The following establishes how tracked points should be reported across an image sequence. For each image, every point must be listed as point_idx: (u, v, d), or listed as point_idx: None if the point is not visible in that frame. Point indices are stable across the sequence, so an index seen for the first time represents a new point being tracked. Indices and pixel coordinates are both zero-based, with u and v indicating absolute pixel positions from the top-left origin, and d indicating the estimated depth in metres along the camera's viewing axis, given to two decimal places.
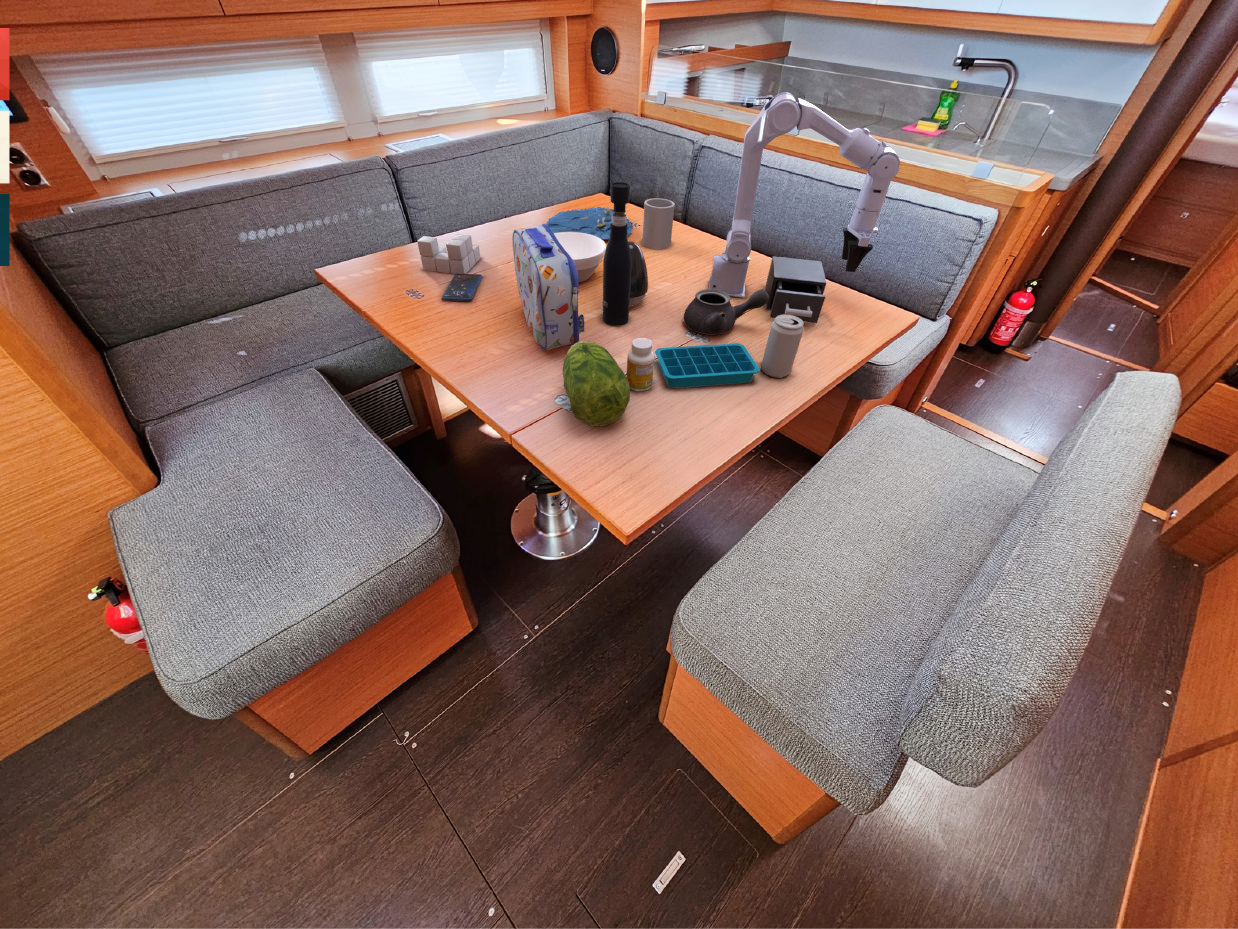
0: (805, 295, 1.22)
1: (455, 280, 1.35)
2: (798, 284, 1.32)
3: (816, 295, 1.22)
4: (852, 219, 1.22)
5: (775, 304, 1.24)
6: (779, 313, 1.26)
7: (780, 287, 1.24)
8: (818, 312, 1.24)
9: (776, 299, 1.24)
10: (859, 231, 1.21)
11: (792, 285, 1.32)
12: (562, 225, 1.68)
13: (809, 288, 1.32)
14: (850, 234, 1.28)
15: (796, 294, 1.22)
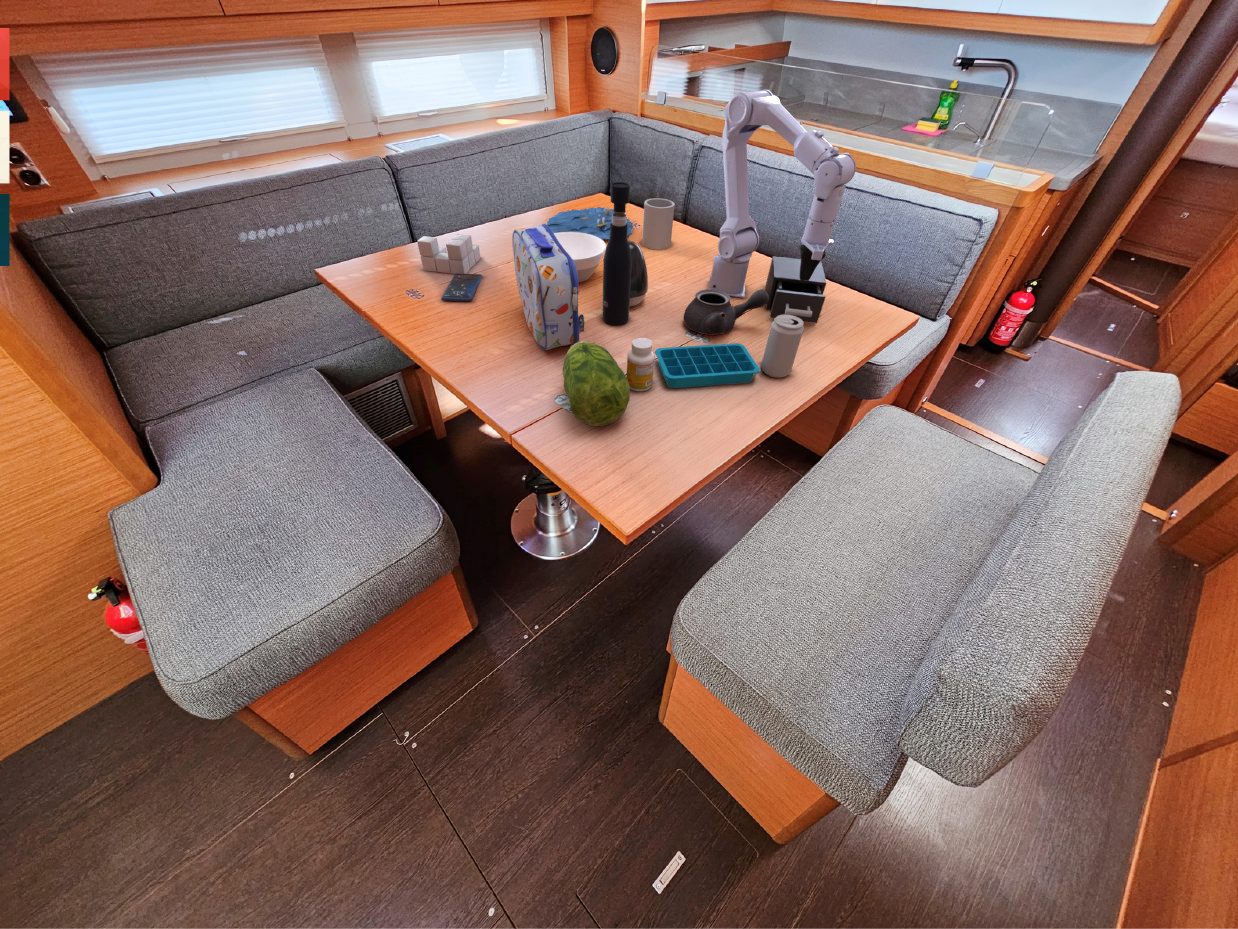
0: (805, 295, 1.22)
1: (455, 280, 1.35)
2: (798, 284, 1.32)
3: (816, 295, 1.22)
4: (805, 231, 1.14)
5: (775, 304, 1.24)
6: (779, 313, 1.26)
7: (780, 287, 1.24)
8: (818, 312, 1.24)
9: (776, 299, 1.24)
10: (813, 243, 1.13)
11: (792, 285, 1.32)
12: (562, 225, 1.68)
13: (809, 288, 1.32)
14: None
15: (796, 294, 1.22)
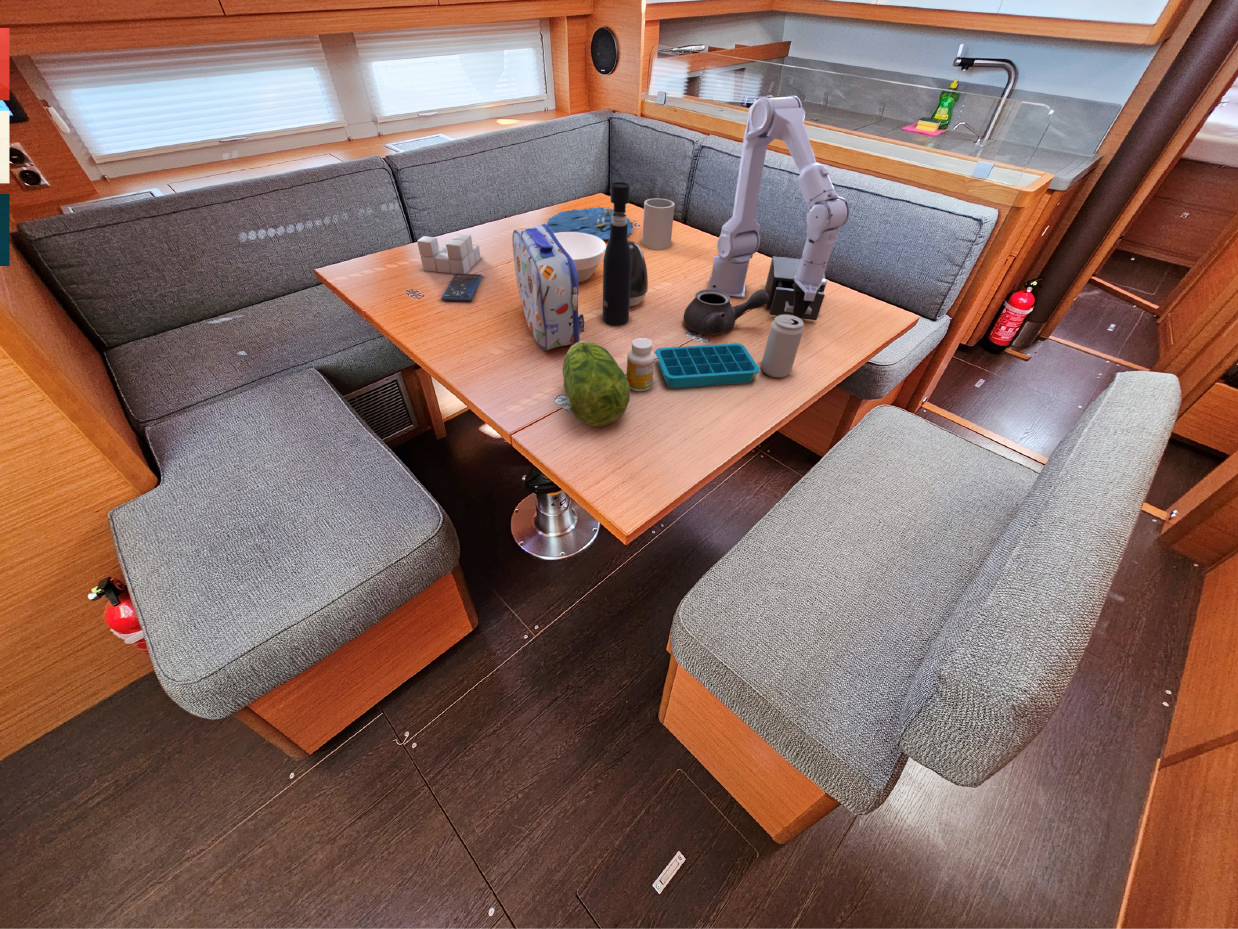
0: None
1: (455, 280, 1.35)
2: None
3: None
4: (798, 270, 1.14)
5: (775, 301, 1.25)
6: (779, 310, 1.27)
7: (780, 285, 1.25)
8: (817, 309, 1.25)
9: (776, 296, 1.25)
10: (806, 284, 1.13)
11: (792, 283, 1.33)
12: (562, 225, 1.68)
13: None
14: None
15: None
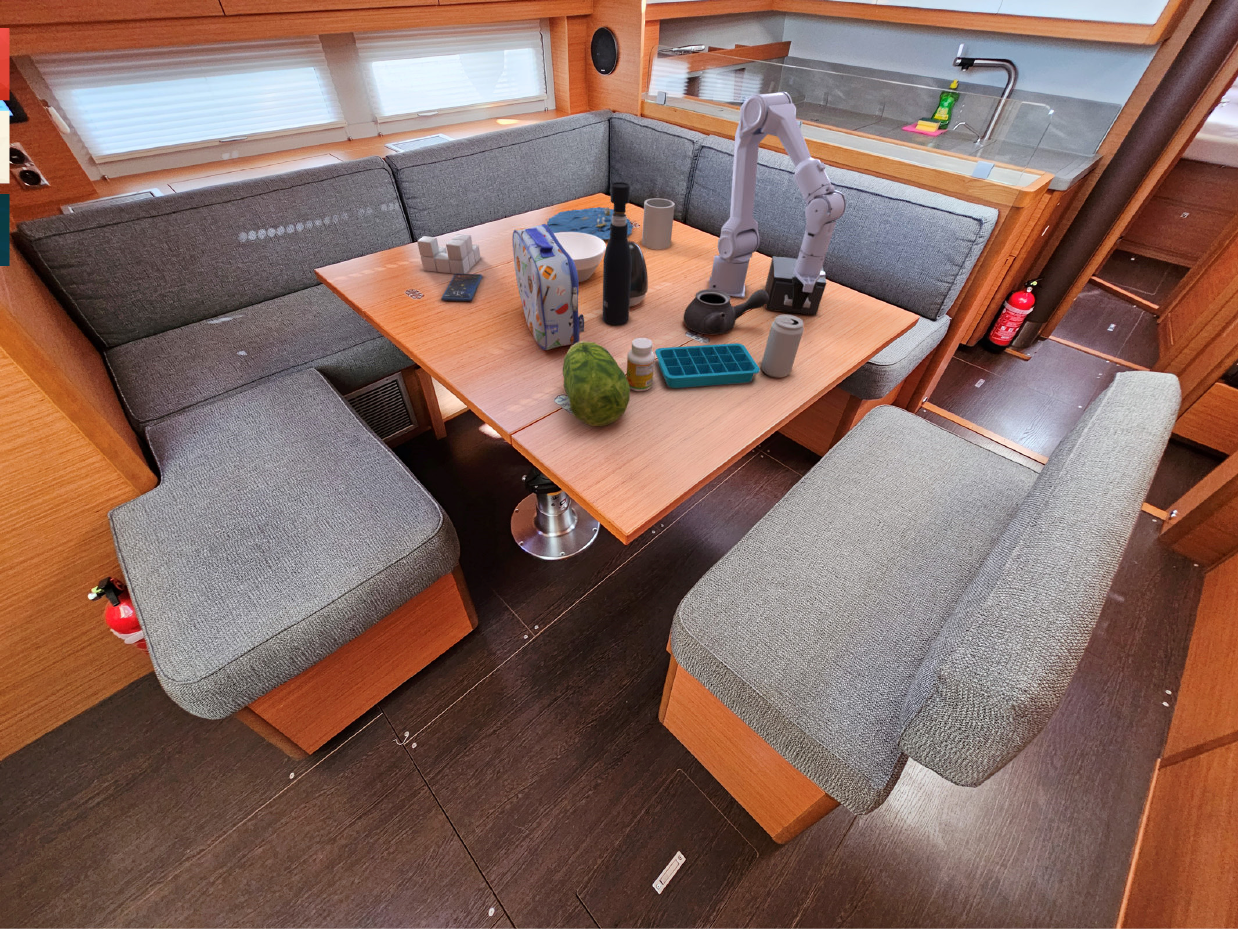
0: None
1: (455, 280, 1.35)
2: None
3: None
4: (797, 263, 1.17)
5: (774, 295, 1.28)
6: (778, 303, 1.29)
7: None
8: (816, 303, 1.27)
9: (775, 290, 1.27)
10: (804, 276, 1.16)
11: None
12: (562, 225, 1.68)
13: None
14: None
15: None
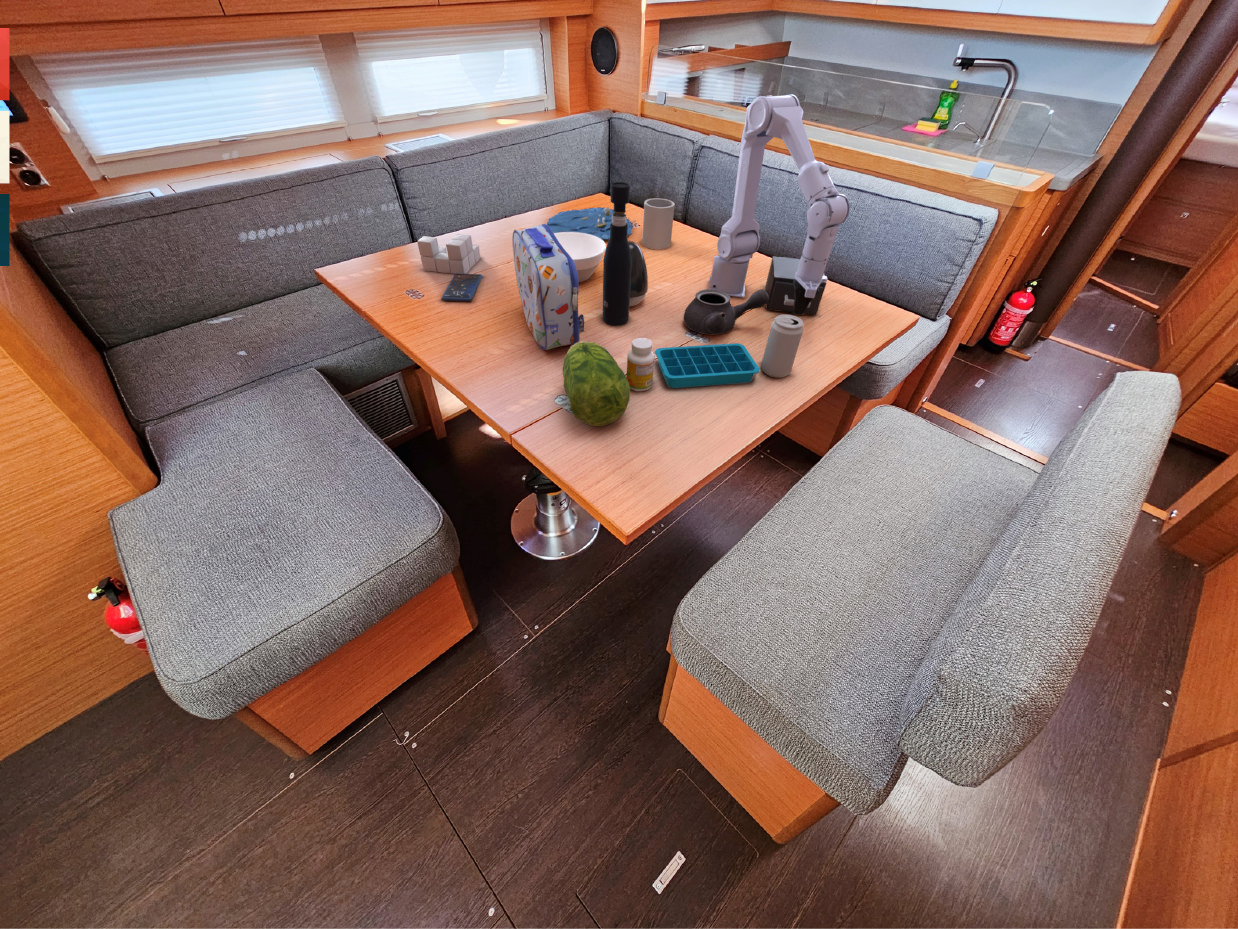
0: None
1: (455, 280, 1.35)
2: None
3: None
4: (799, 268, 1.14)
5: (774, 295, 1.28)
6: (778, 303, 1.29)
7: None
8: (816, 303, 1.27)
9: (775, 290, 1.27)
10: (806, 281, 1.14)
11: None
12: (562, 225, 1.68)
13: None
14: None
15: None
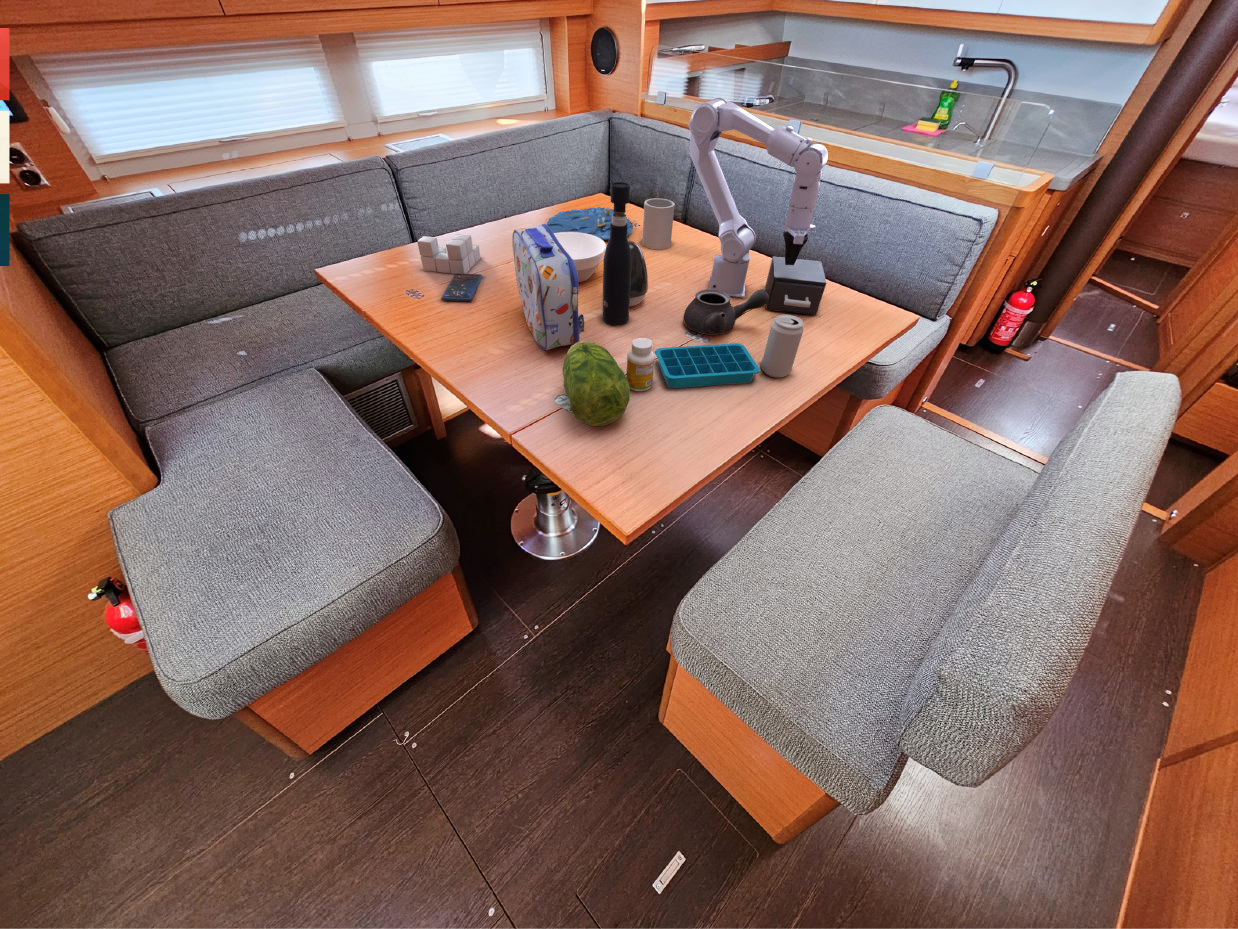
0: (803, 286, 1.25)
1: (455, 280, 1.35)
2: None
3: (814, 286, 1.25)
4: (787, 217, 1.20)
5: (774, 295, 1.28)
6: (778, 303, 1.29)
7: None
8: (816, 303, 1.27)
9: (775, 290, 1.27)
10: (795, 229, 1.20)
11: None
12: (562, 225, 1.68)
13: None
14: None
15: (795, 285, 1.25)
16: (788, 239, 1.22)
